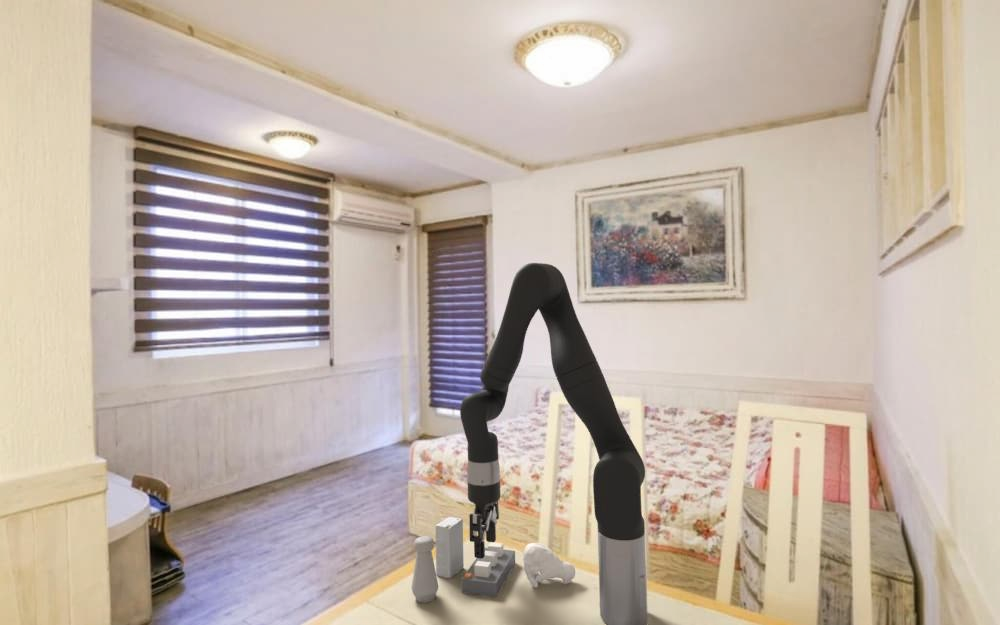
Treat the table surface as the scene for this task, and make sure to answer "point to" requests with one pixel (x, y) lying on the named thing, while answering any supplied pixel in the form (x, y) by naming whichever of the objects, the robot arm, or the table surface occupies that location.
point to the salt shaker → (424, 571)
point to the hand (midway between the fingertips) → (485, 549)
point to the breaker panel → (493, 579)
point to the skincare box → (449, 547)
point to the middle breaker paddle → (490, 558)
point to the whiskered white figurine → (545, 565)
